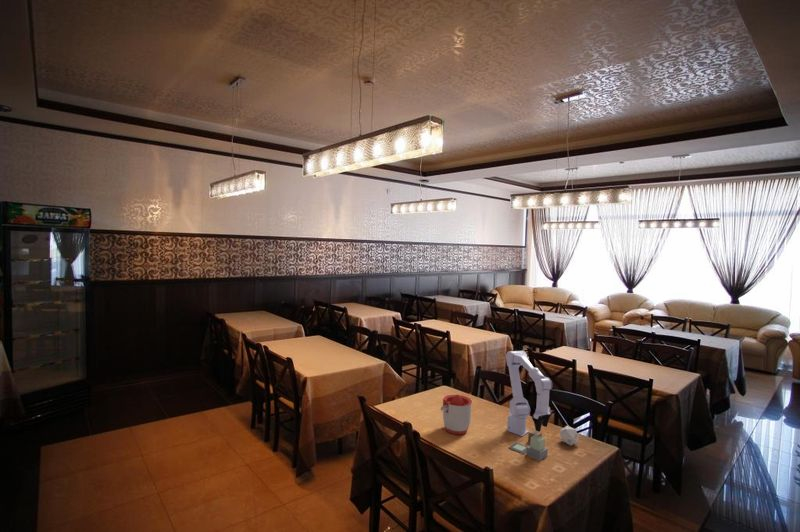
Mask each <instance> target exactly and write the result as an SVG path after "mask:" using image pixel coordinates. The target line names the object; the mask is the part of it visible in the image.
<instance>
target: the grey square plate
mask: <svg viewBox="0 0 800 532" xmlns="http://www.w3.org/2000/svg"><path fill="white" fill-rule="evenodd" d="M527 447H528V446H526V445H524V444H522V443H519V442H516V441H515V442H514V443H512V444H511V445H510V446H509V447H508V449H509V450H511V451H514V452H517V453H519V454H521V455H525V454H526V453H527Z"/></svg>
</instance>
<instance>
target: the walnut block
mask: <svg viewBox="0 0 800 532" xmlns="http://www.w3.org/2000/svg"><path fill="white" fill-rule="evenodd" d="M535 434H536V435H538V436H541V437H543V436H542V435H543V433H542V432H541V431H540V432H539V431H536V429H534V428H533V429H531V430H530V431H529V432H528V434H527V435H528V438H527V442H528V443H530V440H531V437H532V436H534V435H535Z"/></svg>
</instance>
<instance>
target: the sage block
mask: <svg viewBox="0 0 800 532" xmlns="http://www.w3.org/2000/svg"><path fill="white" fill-rule="evenodd" d="M545 444H546V438H545V437H543V436H542V437H541V436H538V435H536V434H535V435H534V436H532V437H531V440H530V442H529V446H530V448H532V449H535V450H537V451H541V450H543V449H544V448H546V446H545Z"/></svg>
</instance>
